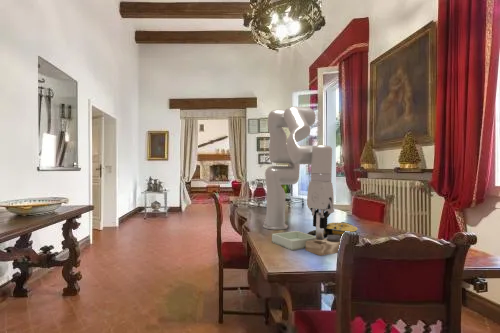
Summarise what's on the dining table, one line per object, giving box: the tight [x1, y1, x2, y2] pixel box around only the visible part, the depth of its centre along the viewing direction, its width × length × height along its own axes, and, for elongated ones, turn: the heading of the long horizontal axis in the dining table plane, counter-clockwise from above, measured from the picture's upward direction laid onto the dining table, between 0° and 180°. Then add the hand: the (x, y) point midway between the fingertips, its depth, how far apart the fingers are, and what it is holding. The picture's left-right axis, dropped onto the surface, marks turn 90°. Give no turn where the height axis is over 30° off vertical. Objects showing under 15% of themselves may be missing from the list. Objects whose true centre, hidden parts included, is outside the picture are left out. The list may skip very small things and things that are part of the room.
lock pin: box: [315, 211, 325, 240], centre depth 118 cm, size 3×3×10 cm
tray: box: [271, 230, 316, 251], centre depth 129 cm, size 14×14×4 cm
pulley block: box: [306, 221, 366, 239], centre depth 145 cm, size 14×6×30 cm
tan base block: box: [305, 235, 342, 256], centre depth 120 cm, size 14×8×5 cm, turn 120°
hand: (319, 226), depth 118 cm, fingers closed on lock pin, 3 cm apart
